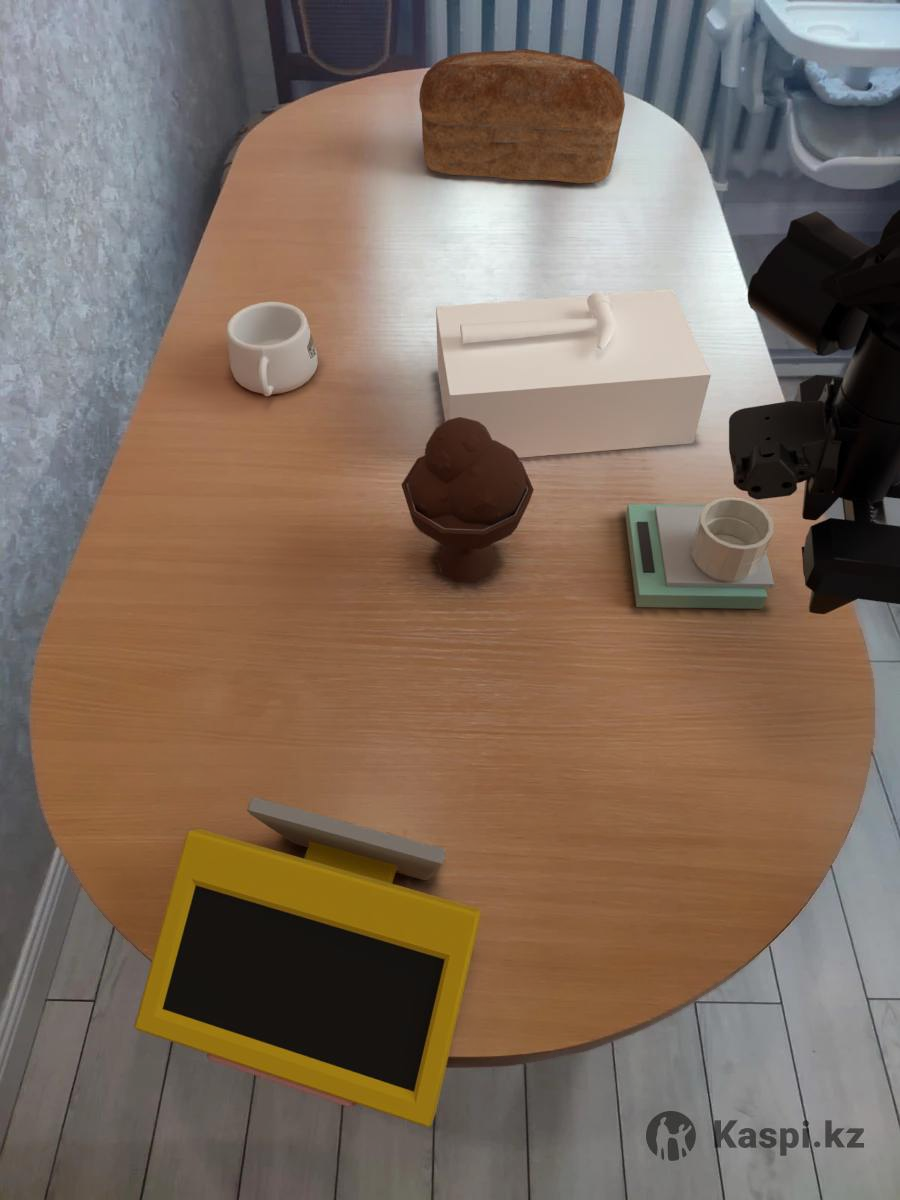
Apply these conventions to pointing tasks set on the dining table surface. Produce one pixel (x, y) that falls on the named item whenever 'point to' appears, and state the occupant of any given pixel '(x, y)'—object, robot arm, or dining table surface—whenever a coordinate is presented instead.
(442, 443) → the ice cream bowl
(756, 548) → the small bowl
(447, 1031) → the yellow framed monitor
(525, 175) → the bread
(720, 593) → the kitchen scale
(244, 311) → the mug
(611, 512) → the dining table surface
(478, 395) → the hammer topped box
